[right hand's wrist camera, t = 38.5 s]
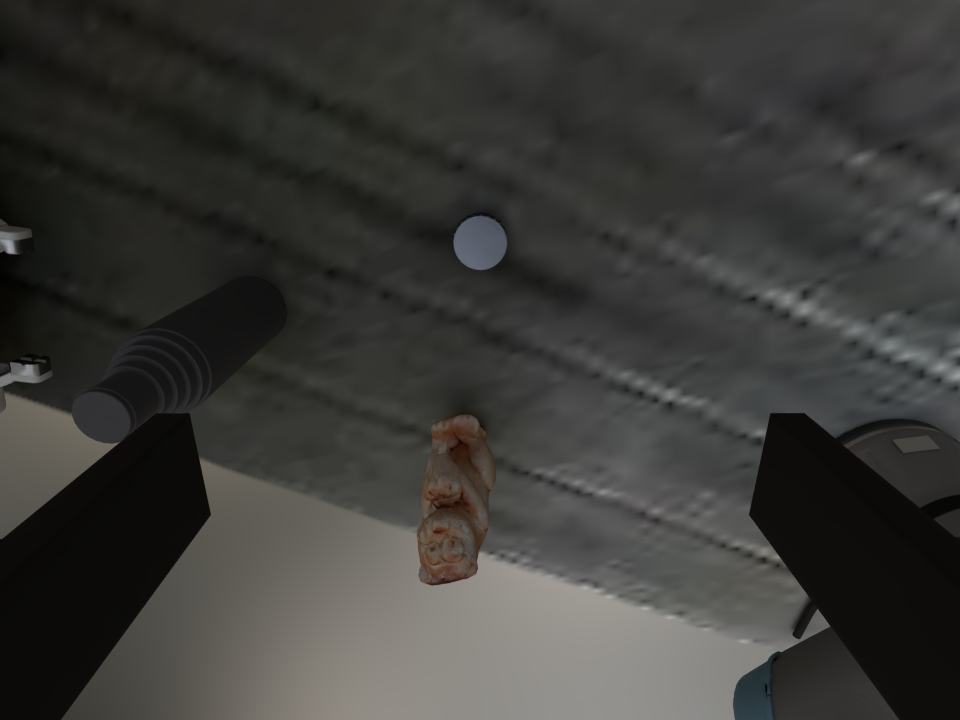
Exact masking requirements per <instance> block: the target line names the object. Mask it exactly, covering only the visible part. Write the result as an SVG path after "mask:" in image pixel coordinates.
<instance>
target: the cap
mask: <svg viewBox="0 0 960 720" xmlns="http://www.w3.org/2000/svg"><path fill="white" fill-rule="evenodd" d="M453 243H454V250H455V253H456V256H457V257H458V259H459V260H460V261H461V262H462V263H463V264H464V265H466V266H467V267H469V268H472V269H475V270H485V269H489V268H491V267H493V266H495V265H496V264H498V263H499V262H500V261H501V259H502V258H503V257H504V255H505V252H506V249H507V244H508V242H507V234H506V233H505V228H504V227H503V226H502V224H501V222H500V221H498V220H497V219H496V218H495V217H493V216H491V215H489V214H482V213H478V214H475V213H474V214H473V215H470V216H467V217H466V218H465V219H464V220H462V221H461V223H460V224H459V225H458V226H457V229H456V232H455V233H454V239H453Z"/></svg>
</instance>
